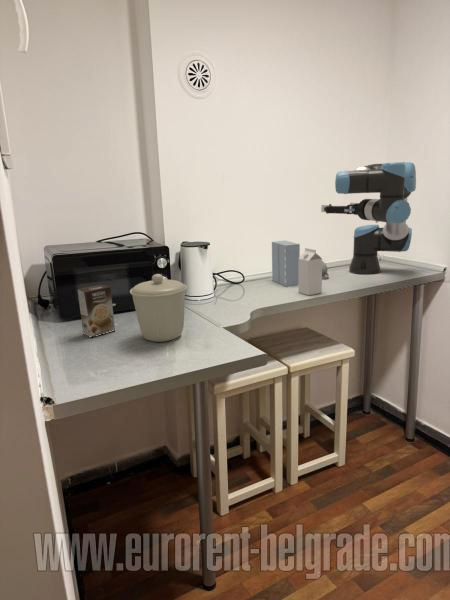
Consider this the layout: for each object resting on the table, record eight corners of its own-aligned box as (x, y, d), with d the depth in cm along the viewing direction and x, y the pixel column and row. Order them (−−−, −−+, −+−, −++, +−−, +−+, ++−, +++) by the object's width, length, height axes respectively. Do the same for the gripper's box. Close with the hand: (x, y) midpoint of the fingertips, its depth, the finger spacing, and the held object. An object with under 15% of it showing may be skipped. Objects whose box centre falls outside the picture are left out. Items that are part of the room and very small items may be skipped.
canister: (166, 350, 130) (160, 283, 124) (123, 341, 139) (115, 277, 134) (201, 332, 144) (197, 270, 139) (160, 324, 154) (154, 266, 148)
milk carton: (311, 289, 190) (311, 247, 185) (321, 293, 184) (322, 249, 179) (298, 292, 187) (298, 249, 182) (308, 295, 181) (308, 251, 176)
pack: (285, 278, 213) (284, 240, 208) (299, 284, 200) (299, 243, 195) (271, 280, 210) (271, 241, 205) (285, 286, 198) (285, 245, 193)
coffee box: (91, 338, 143) (84, 292, 139) (82, 334, 148) (76, 289, 143) (116, 331, 149) (110, 286, 145) (107, 327, 154) (101, 283, 149)
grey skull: (304, 277, 214) (305, 262, 212) (315, 274, 219) (316, 259, 217) (321, 281, 206) (322, 265, 204) (332, 278, 211) (333, 262, 209)
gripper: (342, 223, 150) (309, 219, 170) (399, 217, 159) (362, 214, 178) (342, 201, 148) (309, 199, 168) (400, 197, 157) (362, 195, 176)
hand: (336, 207), depth 173 cm, fingers open, 13 cm apart
